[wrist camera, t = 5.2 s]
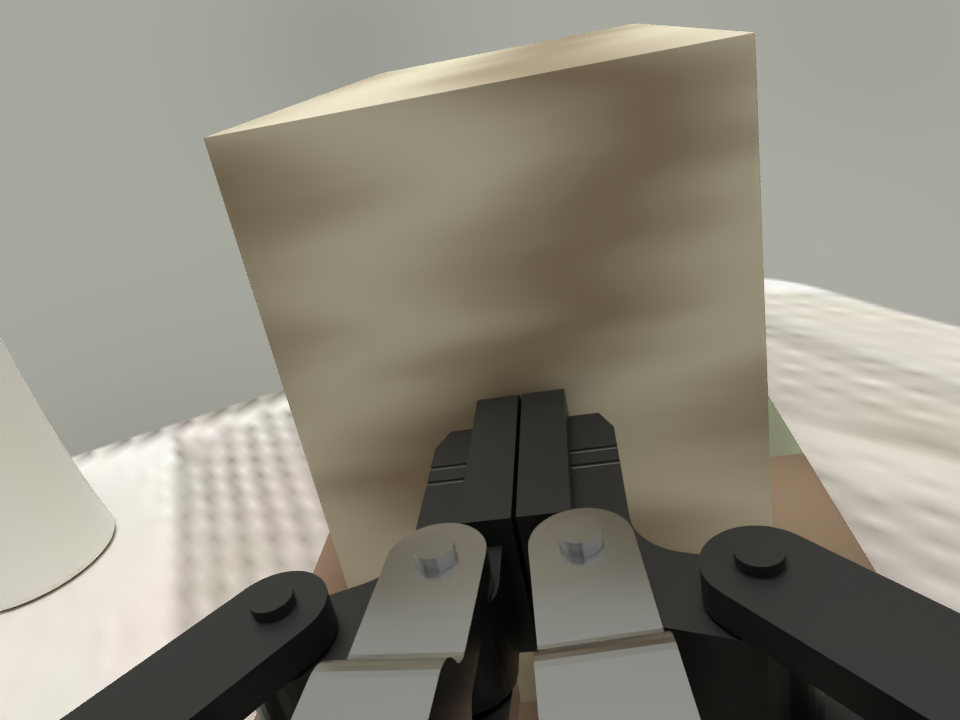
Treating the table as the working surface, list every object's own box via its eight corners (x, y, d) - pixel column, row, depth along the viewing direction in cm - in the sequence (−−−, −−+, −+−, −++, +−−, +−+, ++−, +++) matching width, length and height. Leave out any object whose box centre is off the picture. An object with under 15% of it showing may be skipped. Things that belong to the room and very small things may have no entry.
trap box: (-8, 1644, 8) (-98, 1596, 7) (411, 391, 35) (401, 353, 35) (1505, 1800, 6) (1600, 1758, 5) (717, 349, 34) (714, 307, 33)
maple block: (388, 712, 16) (203, 138, 11) (454, 404, 29) (380, 73, 24) (778, 683, 15) (754, 32, 10) (667, 376, 28) (634, 23, 23)
